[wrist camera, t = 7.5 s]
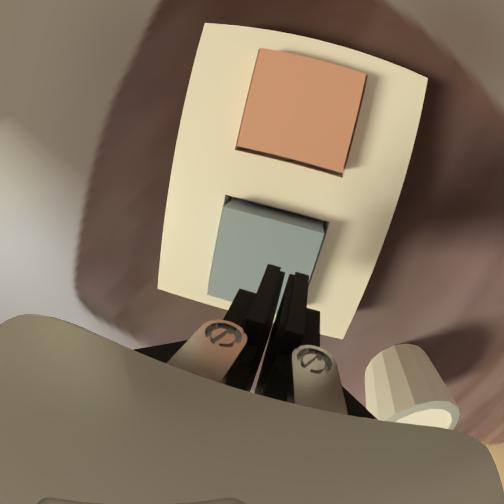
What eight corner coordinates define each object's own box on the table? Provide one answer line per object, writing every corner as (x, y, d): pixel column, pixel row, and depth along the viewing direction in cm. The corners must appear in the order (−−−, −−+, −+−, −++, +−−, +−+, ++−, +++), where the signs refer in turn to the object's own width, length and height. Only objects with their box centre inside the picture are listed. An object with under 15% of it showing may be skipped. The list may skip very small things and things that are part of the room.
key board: (409, 86, 14) (427, 78, 12) (338, 313, 20) (342, 339, 18) (219, 39, 15) (205, 23, 12) (175, 269, 21) (157, 288, 18)
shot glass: (414, 321, 20) (444, 385, 13) (444, 368, 21) (469, 426, 14) (341, 368, 22) (348, 437, 16) (380, 406, 23) (390, 467, 17)
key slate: (321, 220, 16) (324, 233, 14) (296, 297, 18) (295, 318, 16) (233, 197, 17) (223, 207, 14) (217, 276, 19) (206, 294, 16)
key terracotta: (357, 83, 13) (366, 73, 11) (335, 168, 15) (342, 173, 13) (266, 60, 14) (260, 47, 12) (245, 145, 16) (236, 145, 13)
